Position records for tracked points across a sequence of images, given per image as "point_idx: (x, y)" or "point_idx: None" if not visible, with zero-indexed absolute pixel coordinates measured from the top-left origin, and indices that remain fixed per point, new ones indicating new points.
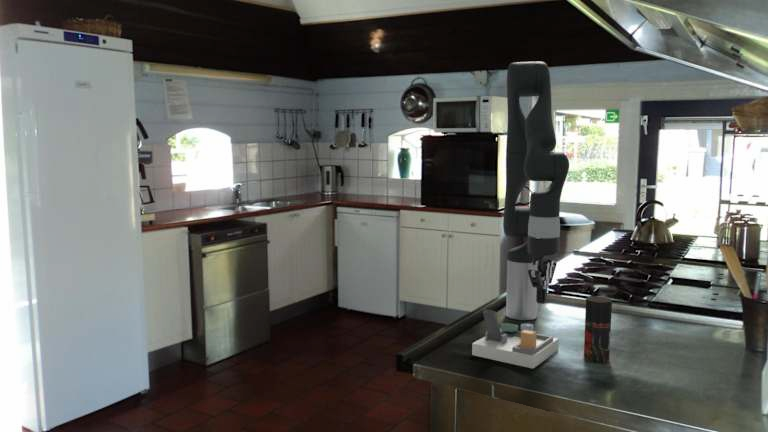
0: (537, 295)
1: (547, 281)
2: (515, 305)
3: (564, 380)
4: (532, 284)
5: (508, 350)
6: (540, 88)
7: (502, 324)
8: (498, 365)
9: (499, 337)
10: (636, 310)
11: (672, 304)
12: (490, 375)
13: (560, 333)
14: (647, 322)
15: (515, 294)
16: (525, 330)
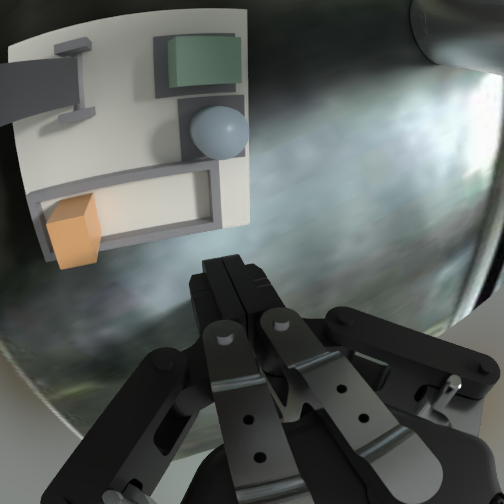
0: (193, 303)
1: (275, 399)
2: (440, 15)
3: (61, 323)
4: (132, 379)
5: (26, 178)
6: None
7: (174, 43)
8: (5, 164)
9: (55, 109)
10: (497, 213)
11: None
12: None
13: (371, 151)
14: (461, 252)
15: (467, 14)
16: (76, 223)
